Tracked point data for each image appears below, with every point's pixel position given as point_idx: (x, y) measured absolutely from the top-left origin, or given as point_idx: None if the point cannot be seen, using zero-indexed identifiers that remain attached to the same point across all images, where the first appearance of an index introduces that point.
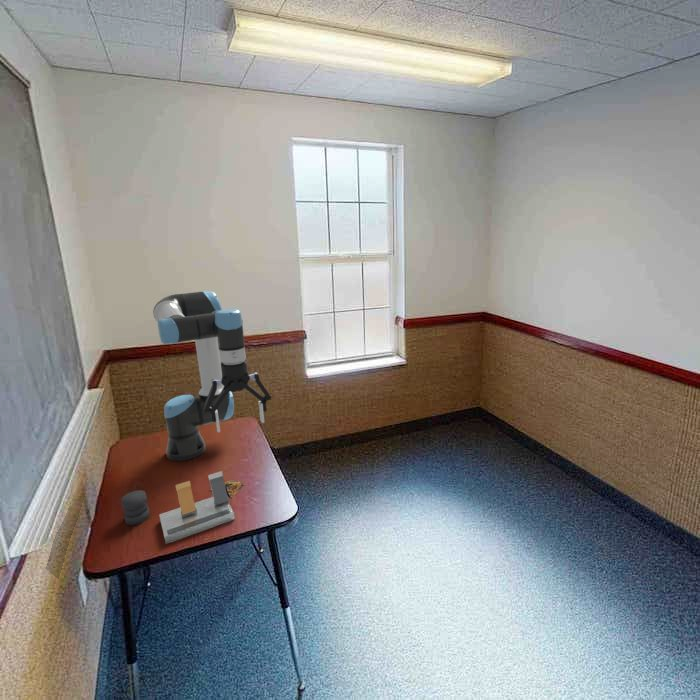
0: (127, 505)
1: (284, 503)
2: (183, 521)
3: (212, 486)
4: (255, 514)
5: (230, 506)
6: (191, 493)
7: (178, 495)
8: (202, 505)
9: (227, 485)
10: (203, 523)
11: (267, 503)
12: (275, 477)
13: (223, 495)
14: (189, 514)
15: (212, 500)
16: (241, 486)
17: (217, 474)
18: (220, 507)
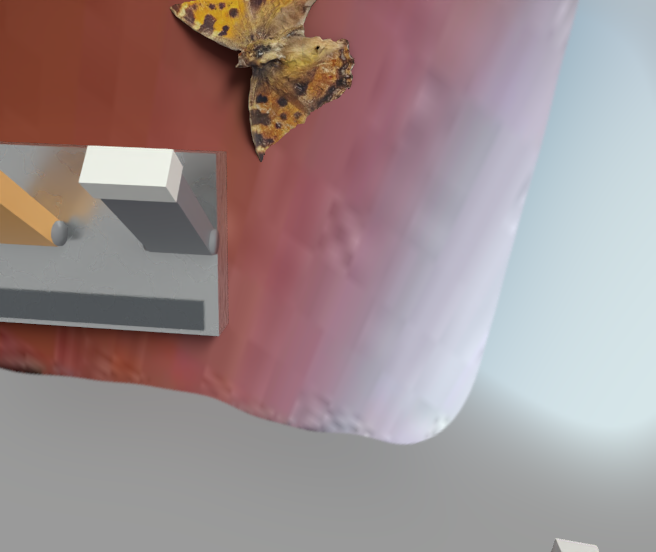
0: None
1: (455, 352)
2: (10, 263)
3: (119, 213)
4: (315, 345)
5: (217, 285)
6: (4, 209)
7: None
8: None
9: (257, 69)
10: (88, 326)
11: (390, 306)
12: (530, 112)
13: (186, 244)
14: None
15: None
16: (334, 88)
17: (138, 192)
18: (174, 264)
